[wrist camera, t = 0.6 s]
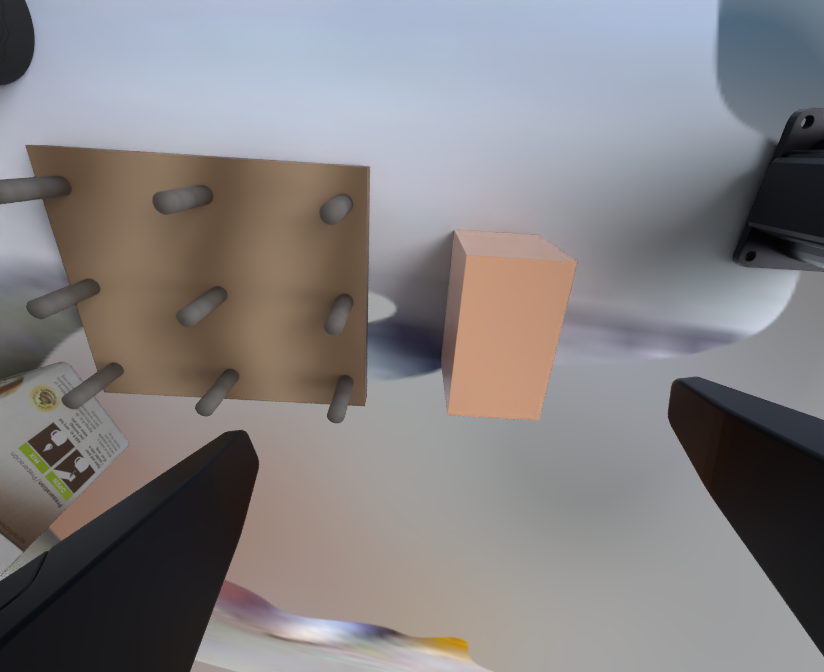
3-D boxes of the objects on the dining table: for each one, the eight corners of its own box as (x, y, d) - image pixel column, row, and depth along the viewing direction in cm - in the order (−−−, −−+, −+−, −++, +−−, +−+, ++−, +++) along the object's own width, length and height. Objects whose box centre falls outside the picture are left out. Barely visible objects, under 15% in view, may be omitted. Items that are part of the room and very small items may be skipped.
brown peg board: (369, 166, 17) (358, 170, 14) (366, 395, 23) (357, 442, 19) (45, 145, 17) (-53, 144, 14) (116, 382, 22) (59, 427, 19)
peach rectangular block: (538, 234, 19) (577, 261, 14) (513, 363, 22) (539, 420, 17) (454, 229, 19) (466, 254, 14) (440, 359, 22) (447, 415, 17)
